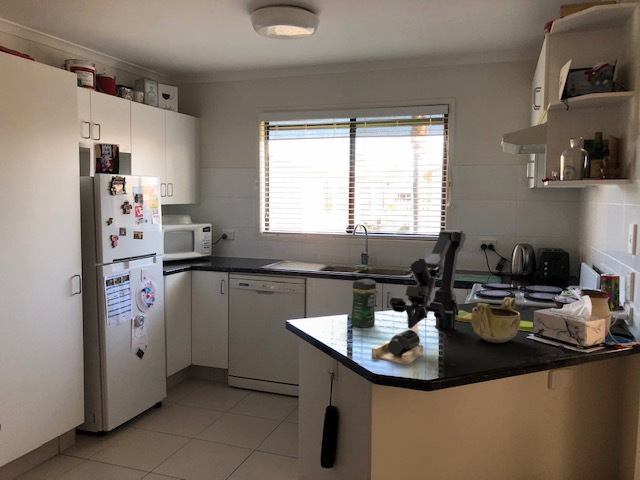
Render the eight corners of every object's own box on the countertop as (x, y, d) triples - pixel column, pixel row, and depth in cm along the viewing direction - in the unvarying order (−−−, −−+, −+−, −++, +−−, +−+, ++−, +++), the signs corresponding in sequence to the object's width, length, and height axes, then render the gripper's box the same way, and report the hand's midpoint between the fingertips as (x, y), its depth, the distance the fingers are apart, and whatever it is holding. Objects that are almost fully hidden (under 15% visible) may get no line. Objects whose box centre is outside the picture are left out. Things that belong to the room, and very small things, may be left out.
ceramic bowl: (500, 351, 176) (503, 308, 175) (456, 340, 188) (458, 299, 187) (530, 340, 191) (533, 299, 190) (488, 330, 203) (490, 292, 202)
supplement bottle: (421, 350, 172) (404, 360, 162) (402, 348, 176) (385, 357, 166) (419, 330, 172) (403, 338, 162) (401, 328, 176) (384, 336, 166)
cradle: (389, 348, 177) (389, 339, 177) (422, 354, 171) (423, 345, 171) (371, 357, 167) (371, 348, 166) (406, 365, 160) (406, 355, 160)
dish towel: (461, 314, 233) (461, 307, 233) (546, 327, 212) (546, 320, 212) (448, 321, 221) (448, 313, 221) (537, 335, 200) (537, 327, 200)
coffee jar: (363, 329, 202) (365, 281, 200) (347, 325, 207) (349, 279, 206) (378, 324, 209) (379, 279, 208) (362, 321, 214) (363, 276, 213)
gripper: (392, 274, 183) (377, 310, 175) (443, 279, 173) (429, 318, 165) (401, 292, 191) (387, 328, 182) (450, 299, 180) (438, 337, 172)
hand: (409, 327), depth 175 cm, fingers closed
